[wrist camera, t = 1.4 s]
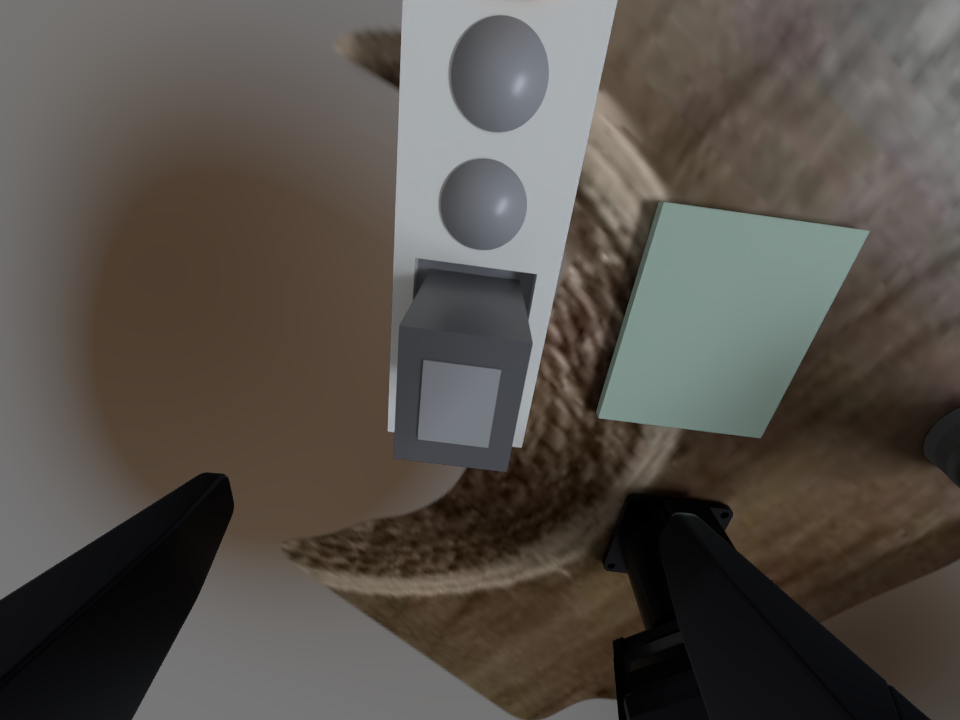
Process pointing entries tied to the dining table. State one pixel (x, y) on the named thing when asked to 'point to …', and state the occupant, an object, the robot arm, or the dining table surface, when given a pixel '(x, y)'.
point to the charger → (461, 371)
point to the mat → (722, 317)
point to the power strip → (492, 148)
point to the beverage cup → (945, 445)
